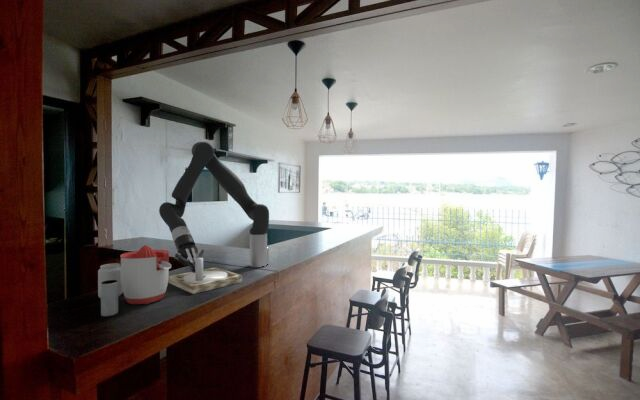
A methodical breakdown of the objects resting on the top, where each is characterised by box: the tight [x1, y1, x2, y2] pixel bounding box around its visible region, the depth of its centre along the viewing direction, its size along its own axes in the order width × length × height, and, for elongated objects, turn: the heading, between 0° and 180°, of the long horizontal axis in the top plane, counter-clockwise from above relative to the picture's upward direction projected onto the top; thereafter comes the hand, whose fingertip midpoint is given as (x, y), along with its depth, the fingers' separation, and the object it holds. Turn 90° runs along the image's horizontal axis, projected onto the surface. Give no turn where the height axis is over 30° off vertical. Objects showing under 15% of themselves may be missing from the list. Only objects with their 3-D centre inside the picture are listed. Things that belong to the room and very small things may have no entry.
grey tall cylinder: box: [100, 280, 119, 317], centre depth 98 cm, size 4×4×10 cm
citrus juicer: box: [119, 244, 172, 305], centre depth 111 cm, size 16×17×20 cm
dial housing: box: [168, 266, 243, 295], centre depth 133 cm, size 22×22×3 cm
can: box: [97, 262, 124, 299], centre depth 114 cm, size 8×8×12 cm
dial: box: [183, 257, 227, 284], centre depth 133 cm, size 18×18×10 cm
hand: (196, 271), depth 127 cm, fingers closed
